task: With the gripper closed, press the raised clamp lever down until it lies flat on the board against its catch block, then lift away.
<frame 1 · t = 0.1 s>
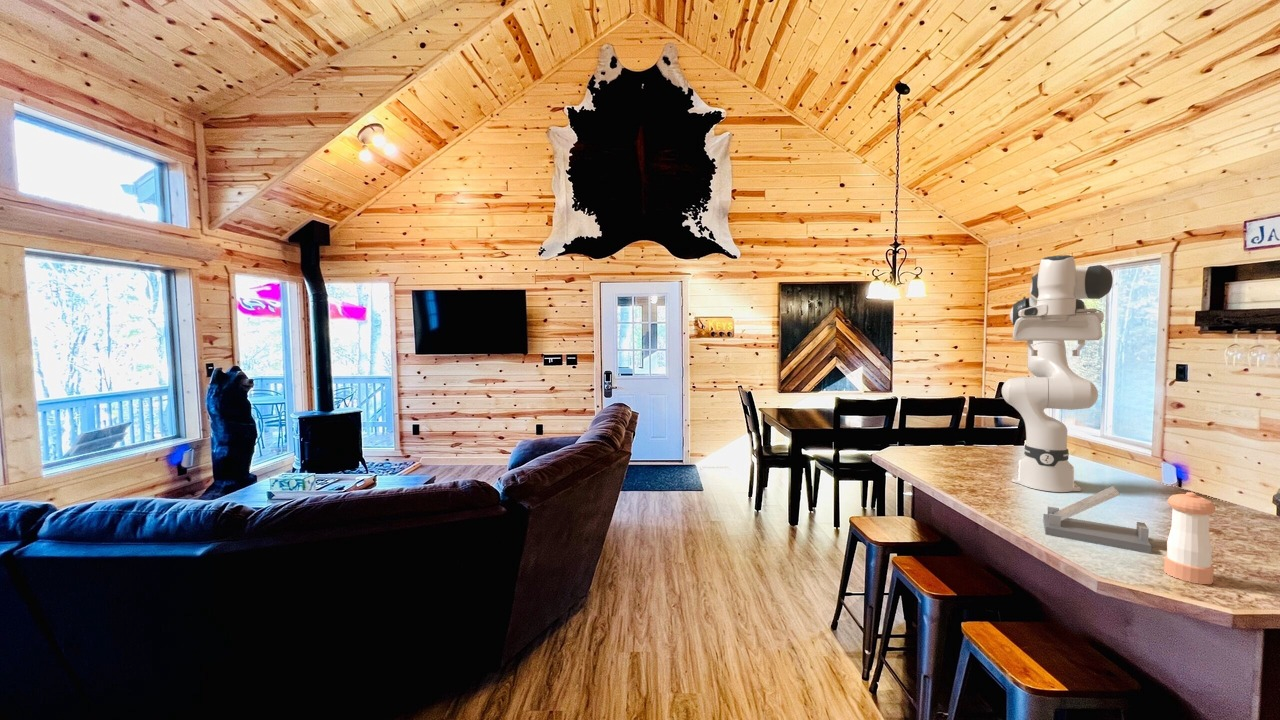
hand: (1054, 356, 144), 48 cm above the countertop, tool pointing down, fingers open, 8 cm apart
clamp board: (1092, 535, 129), on the countertop
clamp lever: (1082, 505, 130), point 8 cm above the countertop, hinge at 40.0°
pepper shaker: (1187, 577, 107), on the countertop
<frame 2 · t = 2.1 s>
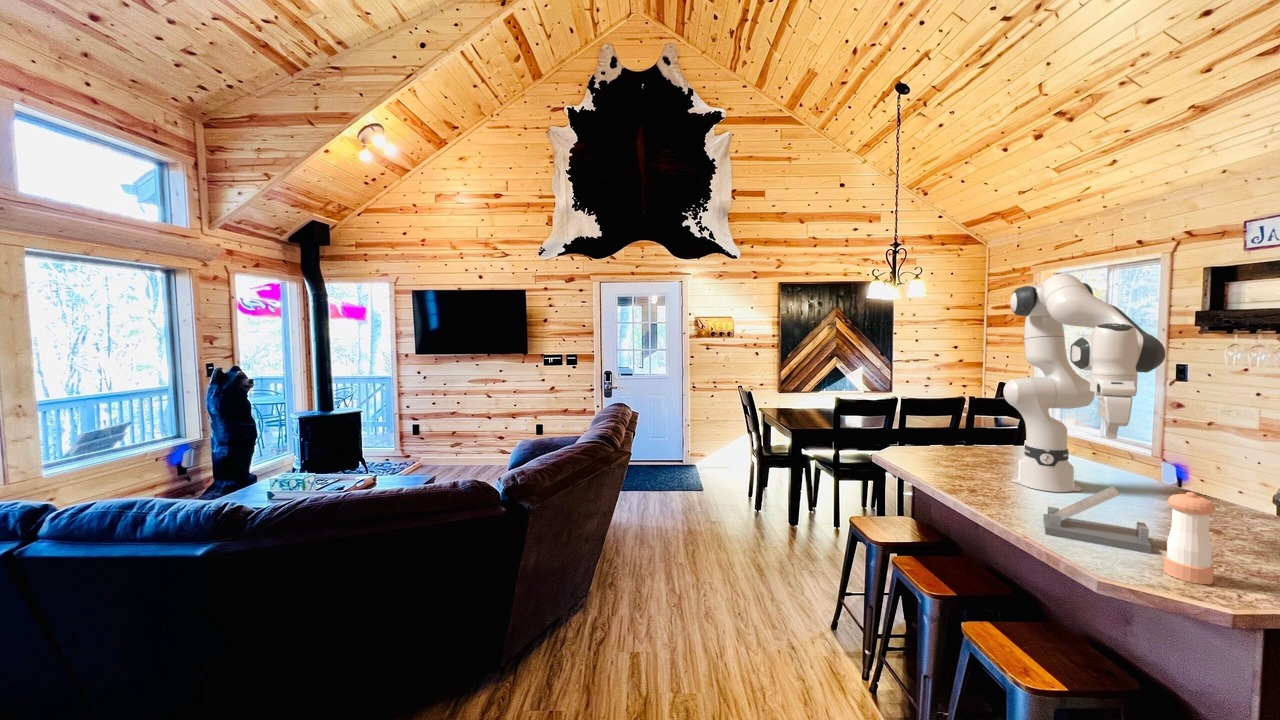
hand: (1111, 437, 126), 27 cm above the countertop, tool pointing down, fingers closed
nothing on the countertop moved.
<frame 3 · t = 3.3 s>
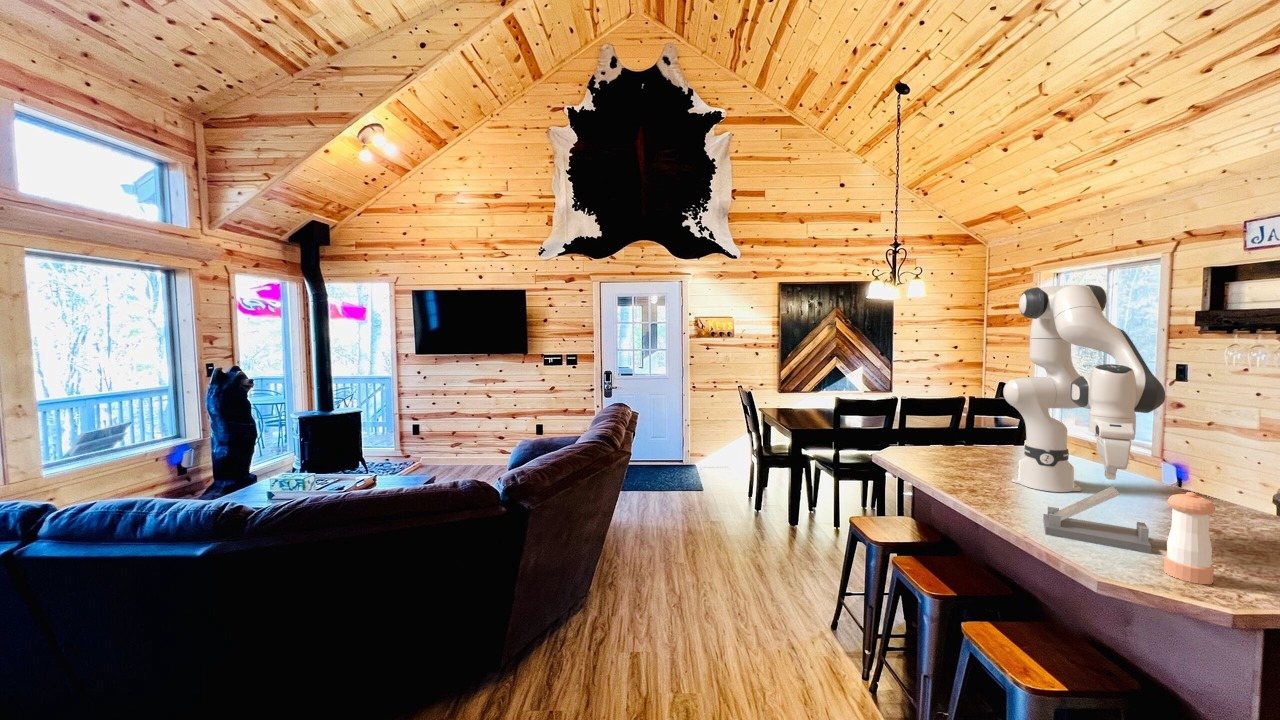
hand: (1110, 478, 127), 16 cm above the countertop, tool pointing down, fingers closed
nothing on the countertop moved.
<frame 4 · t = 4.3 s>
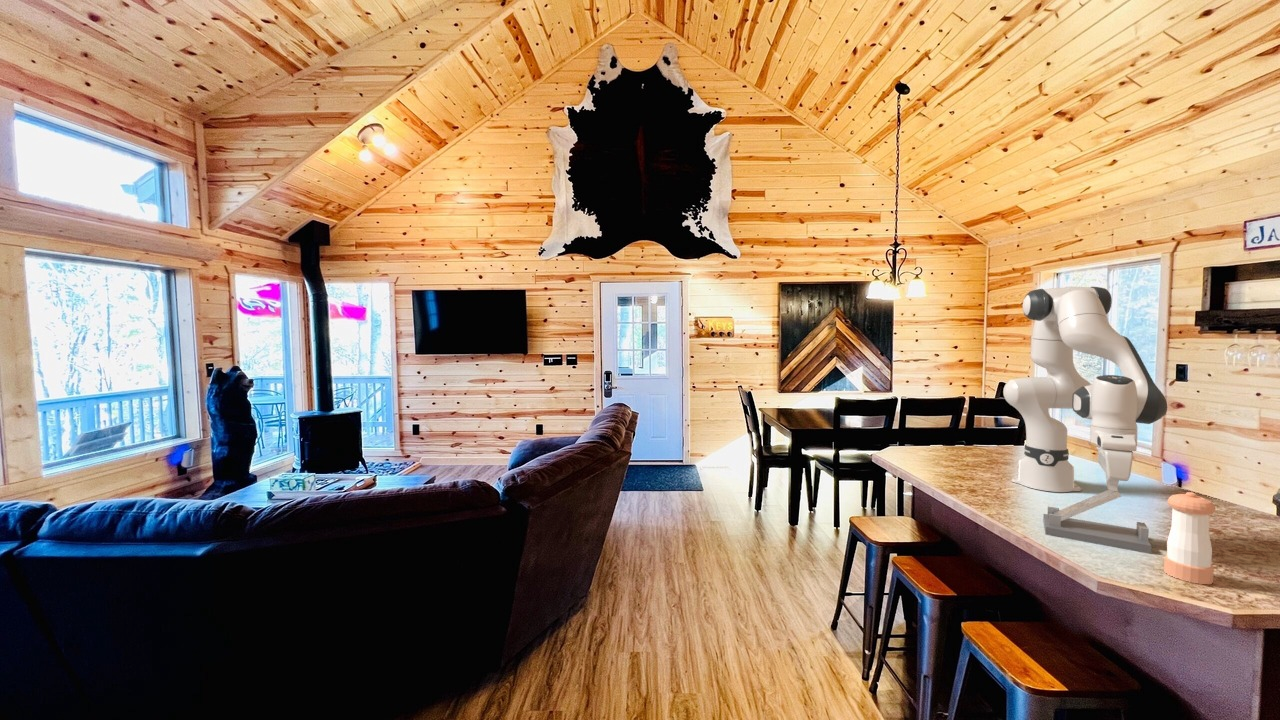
hand: (1111, 489, 127), 13 cm above the countertop, tool pointing down, fingers closed, pressing on clamp lever
clamp lever: (1083, 506, 130), point 8 cm above the countertop, hinge at 38.3°, touching gripper
everything else where it was.
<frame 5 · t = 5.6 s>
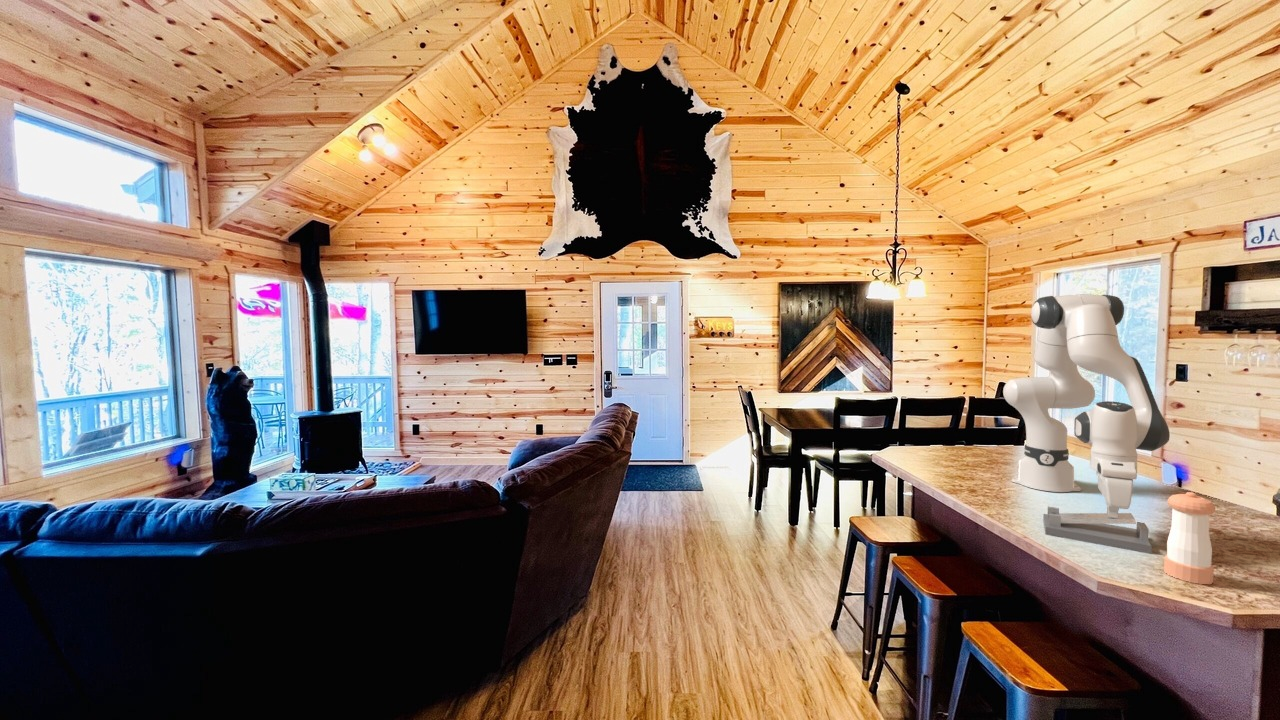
hand: (1112, 516, 126), 6 cm above the countertop, tool pointing down, fingers closed, pressing on clamp lever
clamp lever: (1089, 518, 130), point 5 cm above the countertop, hinge at 12.5°, touching gripper
everything else where it was.
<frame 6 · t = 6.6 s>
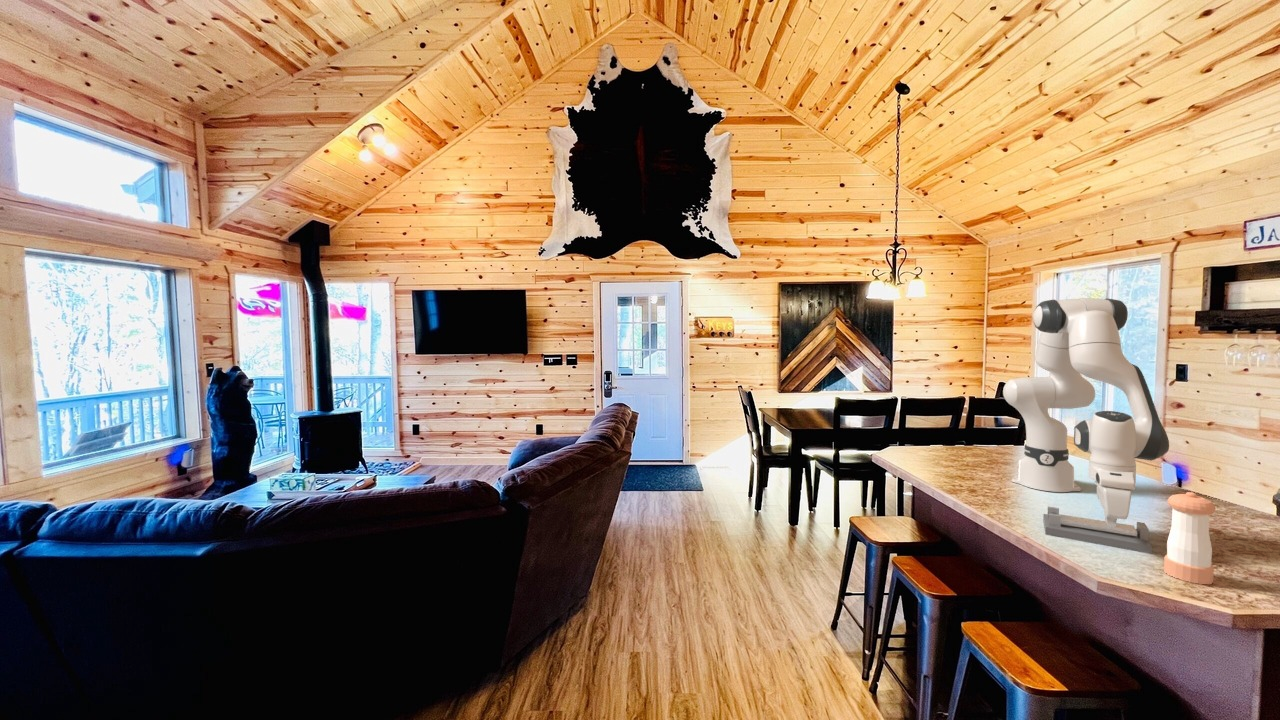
hand: (1110, 525, 127), 4 cm above the countertop, tool pointing down, fingers closed, pressing on clamp lever
clamp lever: (1090, 523, 130), point 3 cm above the countertop, hinge at 1.0°, touching gripper
everything else where it was.
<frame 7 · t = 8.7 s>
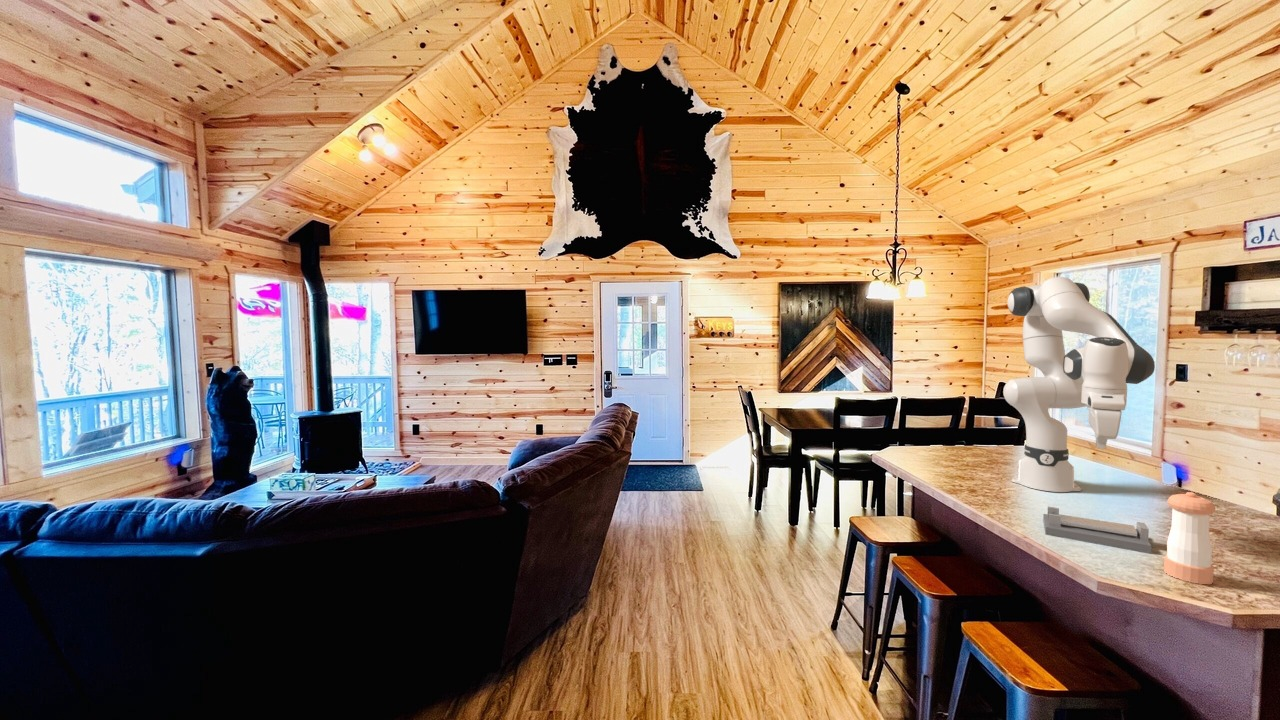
hand: (1100, 447, 131), 23 cm above the countertop, tool pointing down, fingers closed
clamp lever: (1090, 524, 130), point 3 cm above the countertop, hinge at 0.9°
everything else where it was.
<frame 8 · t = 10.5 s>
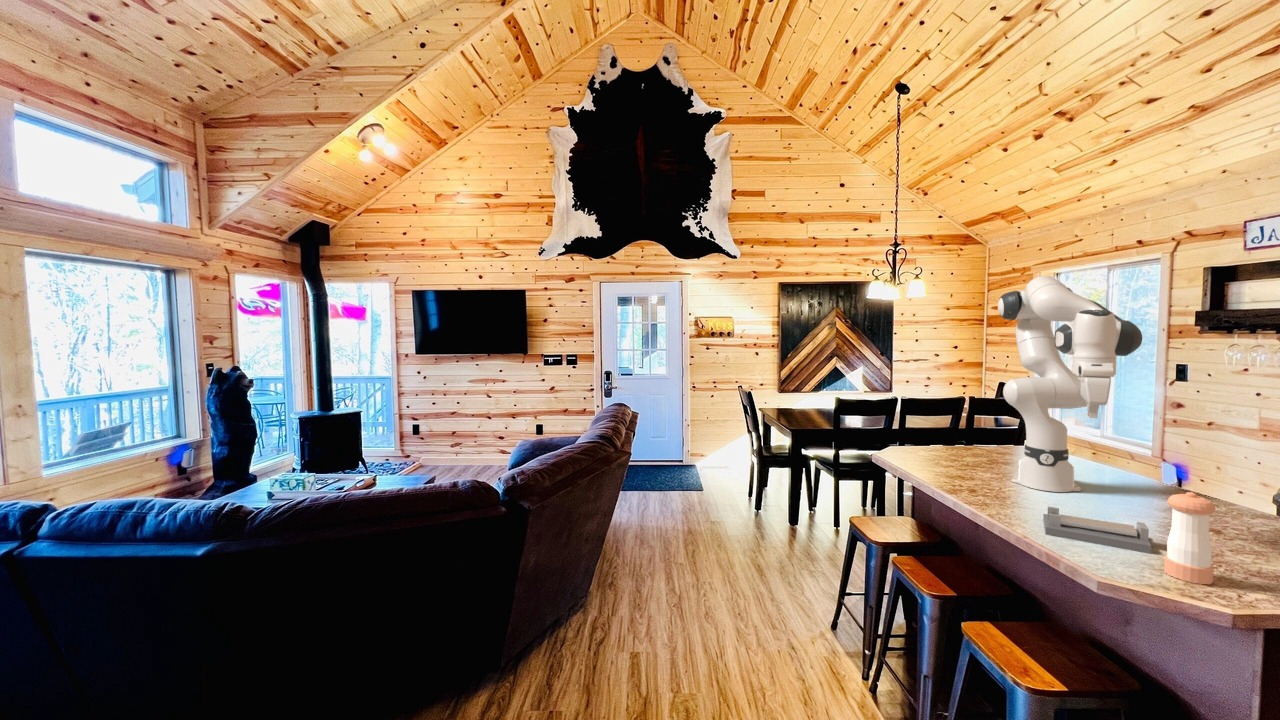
hand: (1092, 417, 134), 31 cm above the countertop, tool pointing down, fingers closed
nothing on the countertop moved.
at the end: clamp lever at +1° (first picture: +40°); the gripper is holding nothing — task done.
